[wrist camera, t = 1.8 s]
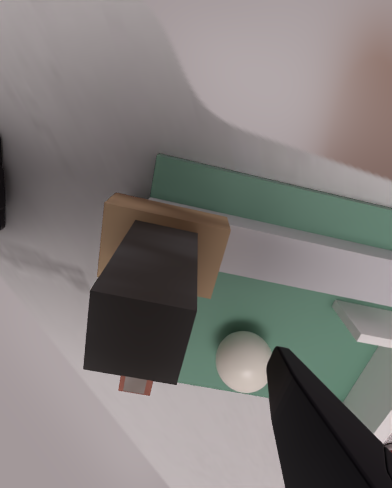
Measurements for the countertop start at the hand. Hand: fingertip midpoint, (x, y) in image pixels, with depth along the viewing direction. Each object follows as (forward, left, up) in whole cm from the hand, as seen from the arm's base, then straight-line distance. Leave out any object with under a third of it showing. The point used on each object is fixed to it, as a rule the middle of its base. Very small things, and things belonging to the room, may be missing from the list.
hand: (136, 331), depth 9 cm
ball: (+7, -8, -8) cm, 13 cm away
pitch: (+9, -5, -11) cm, 15 cm away
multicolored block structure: (0, -4, -9) cm, 10 cm away
